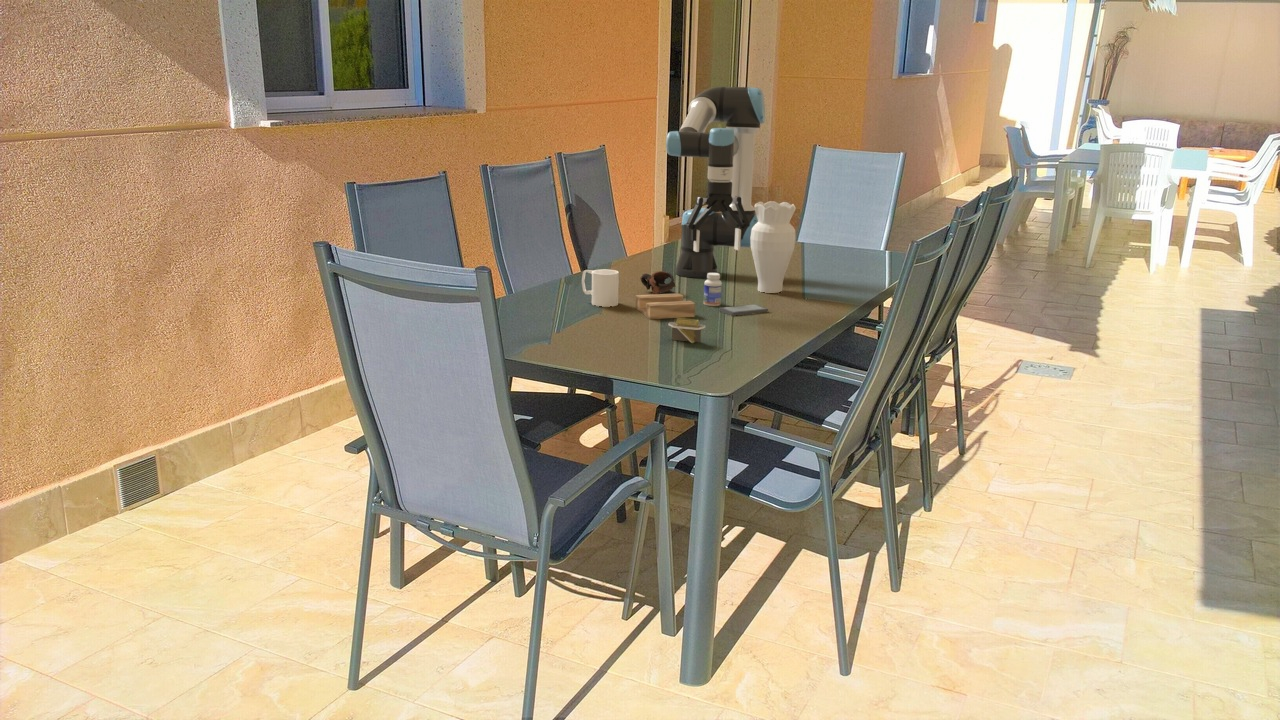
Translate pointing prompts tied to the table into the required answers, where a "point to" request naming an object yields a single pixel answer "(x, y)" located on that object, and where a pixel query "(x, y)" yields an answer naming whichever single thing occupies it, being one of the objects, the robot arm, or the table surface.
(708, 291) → the pill bottle
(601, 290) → the cup
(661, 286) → the pottery mug
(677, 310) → the socket holder
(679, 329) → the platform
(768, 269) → the vase
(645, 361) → the table surface
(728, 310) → the phone slab
